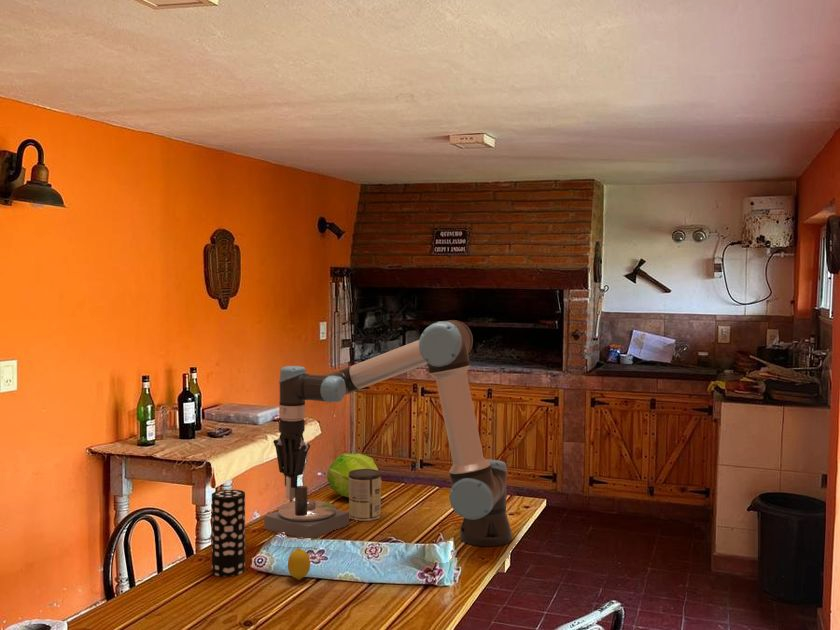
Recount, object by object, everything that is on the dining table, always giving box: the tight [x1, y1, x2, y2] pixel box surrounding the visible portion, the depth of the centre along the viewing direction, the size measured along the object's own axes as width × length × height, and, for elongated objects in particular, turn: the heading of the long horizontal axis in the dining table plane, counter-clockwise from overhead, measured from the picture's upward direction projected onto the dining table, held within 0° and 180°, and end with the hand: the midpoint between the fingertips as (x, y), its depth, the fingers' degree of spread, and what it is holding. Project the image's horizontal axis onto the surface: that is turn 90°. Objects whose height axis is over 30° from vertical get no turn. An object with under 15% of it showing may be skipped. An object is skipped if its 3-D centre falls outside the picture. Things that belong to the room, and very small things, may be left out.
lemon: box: [287, 548, 311, 581], centre depth 201 cm, size 6×6×8 cm
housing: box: [263, 508, 350, 539], centre depth 244 cm, size 18×18×4 cm
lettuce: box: [326, 452, 383, 499], centre depth 276 cm, size 17×20×15 cm
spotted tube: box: [211, 489, 246, 577], centre depth 206 cm, size 8×8×20 cm
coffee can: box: [348, 469, 382, 522], centre depth 255 cm, size 10×10×14 cm
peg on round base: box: [278, 485, 336, 521], centre depth 243 cm, size 17×17×10 cm
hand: (290, 497), depth 238 cm, fingers closed
